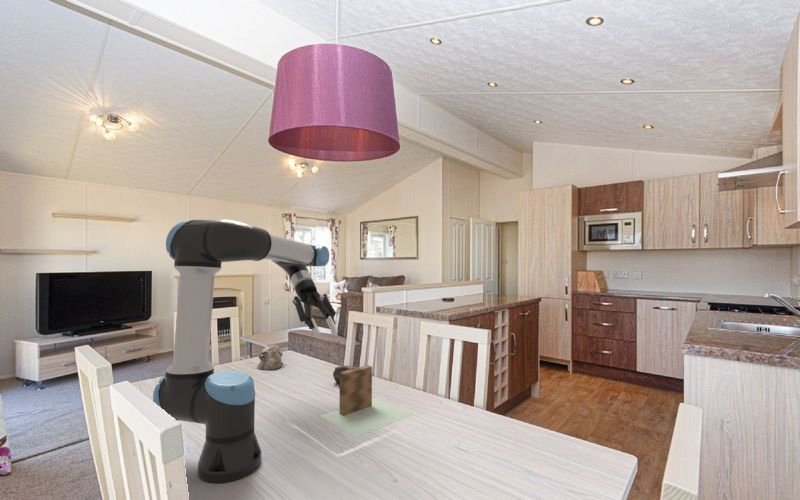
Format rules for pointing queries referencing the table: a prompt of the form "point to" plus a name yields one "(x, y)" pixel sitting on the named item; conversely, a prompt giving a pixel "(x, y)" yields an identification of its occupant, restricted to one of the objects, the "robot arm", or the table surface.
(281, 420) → the table surface
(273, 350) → the rock
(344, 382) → the board
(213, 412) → the robot arm
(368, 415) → the mat
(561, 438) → the table surface
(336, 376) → the rock
